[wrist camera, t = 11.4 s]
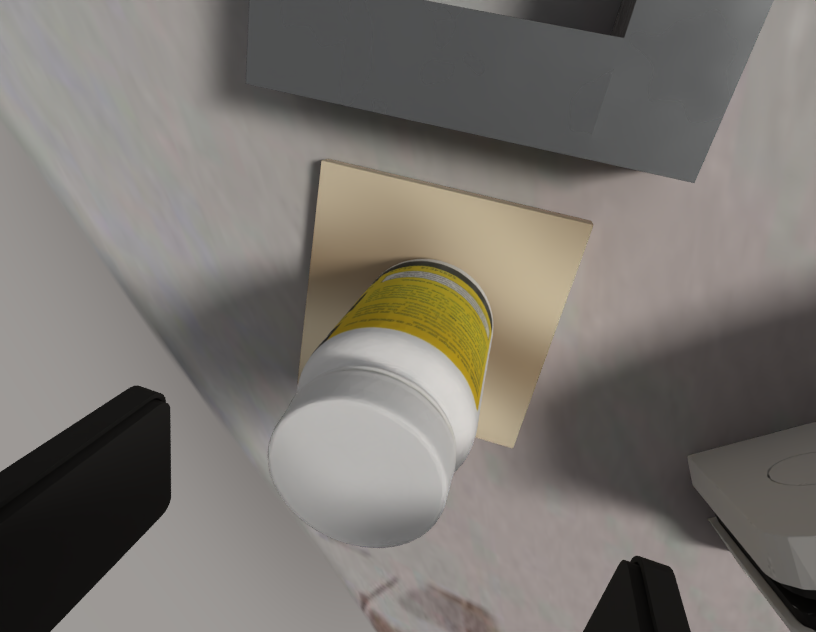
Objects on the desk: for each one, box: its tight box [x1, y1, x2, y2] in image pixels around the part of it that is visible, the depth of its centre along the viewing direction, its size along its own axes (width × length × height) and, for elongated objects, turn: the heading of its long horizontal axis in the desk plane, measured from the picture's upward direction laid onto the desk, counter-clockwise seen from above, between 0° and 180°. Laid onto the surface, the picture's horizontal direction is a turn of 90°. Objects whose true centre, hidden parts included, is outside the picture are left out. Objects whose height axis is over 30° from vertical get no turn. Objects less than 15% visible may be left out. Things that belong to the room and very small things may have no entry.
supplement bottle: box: [268, 259, 493, 548], centre depth 14 cm, size 5×5×8 cm
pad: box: [297, 159, 593, 448], centre depth 18 cm, size 9×9×1 cm
